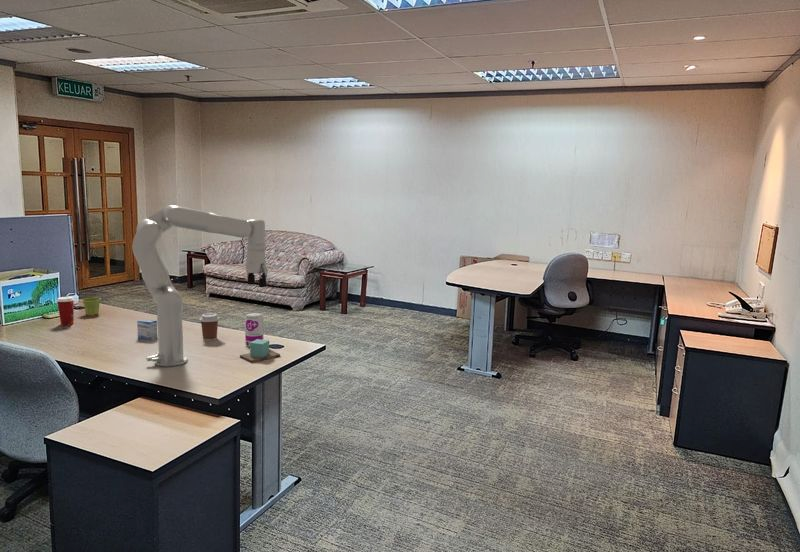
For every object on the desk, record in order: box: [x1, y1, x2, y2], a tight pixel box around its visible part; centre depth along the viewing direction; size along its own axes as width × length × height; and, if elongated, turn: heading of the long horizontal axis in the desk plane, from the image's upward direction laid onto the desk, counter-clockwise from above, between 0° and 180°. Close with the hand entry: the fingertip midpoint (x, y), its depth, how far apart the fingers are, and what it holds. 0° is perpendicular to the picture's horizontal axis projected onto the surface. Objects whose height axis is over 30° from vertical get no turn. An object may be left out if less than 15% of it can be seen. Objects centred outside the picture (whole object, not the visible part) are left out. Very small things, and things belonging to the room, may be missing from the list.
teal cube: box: [249, 339, 270, 357], centre depth 235 cm, size 6×6×6 cm
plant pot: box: [81, 297, 102, 316], centre depth 301 cm, size 9×9×9 cm
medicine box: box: [136, 318, 158, 340], centre depth 259 cm, size 8×4×9 cm, turn 76°
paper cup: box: [56, 296, 75, 326], centre depth 279 cm, size 8×8×14 cm
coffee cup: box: [199, 312, 220, 342], centre depth 260 cm, size 9×9×12 cm
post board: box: [239, 349, 281, 364], centre depth 236 cm, size 14×10×6 cm
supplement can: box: [244, 312, 264, 348], centre depth 252 cm, size 8×8×15 cm
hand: (256, 285), depth 240 cm, fingers open, 9 cm apart
